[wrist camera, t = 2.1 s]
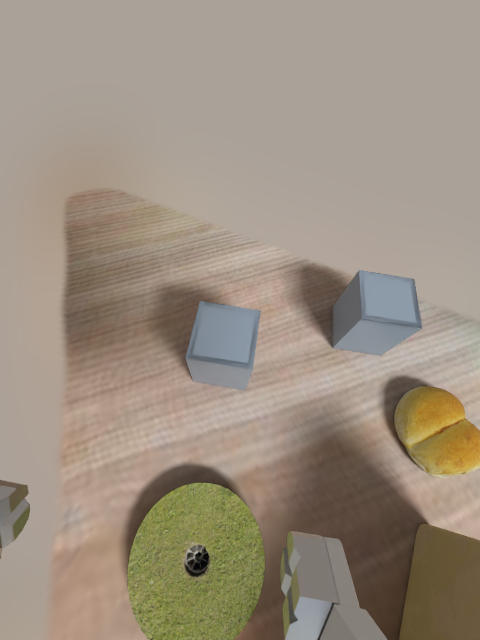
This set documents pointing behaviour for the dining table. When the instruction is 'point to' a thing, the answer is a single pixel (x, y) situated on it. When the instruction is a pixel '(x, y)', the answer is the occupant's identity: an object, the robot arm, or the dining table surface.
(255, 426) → the dining table surface
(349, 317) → the gray notched block
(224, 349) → the grey stool
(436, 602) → the cheese
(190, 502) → the mat
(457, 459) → the bread roll
